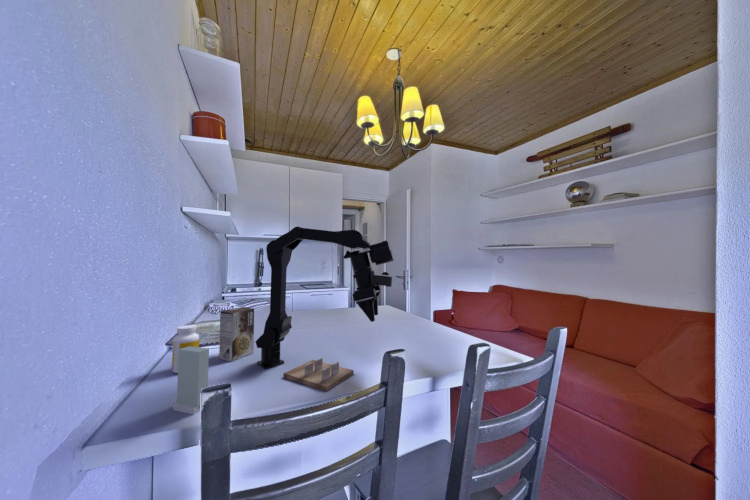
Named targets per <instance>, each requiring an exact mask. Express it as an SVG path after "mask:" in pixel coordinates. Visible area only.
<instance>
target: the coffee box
mask: <svg viewBox="0 0 750 500" xmlns="http://www.w3.org/2000/svg"><path fill="white" fill-rule="evenodd" d="M219 316H220V317H219V318H220V319H219V349H218V350H219V351H218V352H219V354H218V358H219V360H223V361H228V362H235V361H237V360H239V359H242V358H244V357H247V356H249V355H251V354H254V352H255V350H254V348H255V346H254V342H255V340H254V339H255V336H254V334H255V333H254V332H255V308H253V307H252V308H251V307H247V306H240V307H236V308H235V307H234V308H231V309H226V310H225V309H224V310H221V311H220V315H219Z"/></svg>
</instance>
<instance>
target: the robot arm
mask: <svg viewBox="0 0 750 500" xmlns="http://www.w3.org/2000/svg"><path fill="white" fill-rule="evenodd" d="M365 239H366V238H365V236H364V235H363V233H362V232H360V231H358V230H356V229H345V230H337V231H336V230H335V231H333V230H324V229H315V228H307V227H301V226H294V227H293V228H292V229H290V230H289V231H288V232H286V233H284V234H282V235H280V236H279V237H277V238H276V239H273V240H271V241H269V243H268V244H266V248H265V249H266V250H265V251H266V258H267V262H268V263H269V266H270V269H271V270H270V298H269V301H270V303H269V314H268V316H267V319H266V321H265V322H264V329H263V333H262V334H261V335H260V336H259V337H258V338H257V339H256V340H255V345H256V348H258V349H260V355H261V357H260V360H258V361H256V364H257V365H258V366H260V367H262V368H264V369H269V368H272V367H275V366H279V365H283V364H285V361H284V360H283V359H281V342H283V341H284V340H285V338H286V337H287V336H288V334H290V331H291V329H292V328H293V327H292V319H293V317H292V315H290V316H289V315H288V314H287V312H286V302H287V298H286V297H287V296H286V295H287V269H288V266H289V263H290V261H291V259H292V252H293V251H294V250H295V249H297V247H298V246H299V245H300V244H301V242H303V241H305V240H307V241H313V242H314V241H315V242H321V243H329V244H330V243H331V244H337V245H339V246H343V247H345V248H346V247H347V248H349V249H353V251H350V250H346V251H345V254H344V255H343V257H342V258H343V259H344V260H346V259H347V260H348V259H349V260H350V263H351V267H352V270H353V274H352V276H353V279H355V283H356V286H357V287H356V290H355V291H354V292H353V294H352V298H353V302H355V304H356V305H357V306H358V307H359V309H361V310H362V311H363V313H364V314H365V316H366V317H367V318H368V319H369V321H370V322H375V321H376V319H375V317H376V316H378V314H379V309H378V308H379V303H378V301H379V300H378V297H379V295H380V294H381V292H382V291H381V290H382V288H381V286H385V287H388V288H389V287H390V288H391V287H392V284H393V275H390V274H389V272H388V271H383V272H382V273H381V274H377V273H375V270H373V268H372V265H371V263H372V264H374V263H375V266H380V265H383V264H388V263H390V262H391V263H392V262H394V256H393V251H392V249H391V248H390V247H391V246H390V245H389V241H388V240H387V239H386V240H383V241H381V242H378V243H374V244H371V243H370V242H368V241H367V240H365ZM360 249H363V250H366V251H362V252H361V250H360Z"/></svg>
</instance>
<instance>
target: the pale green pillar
mask: <svg viewBox="0 0 750 500" xmlns="http://www.w3.org/2000/svg"><path fill="white" fill-rule="evenodd" d="M209 358H210V348H205V347H200V346H199V347H191V346H188V347H185V348H182V349H179V359H178V373H177V388H176V389H177V390H176V402H175V403H174V404H172V411H176V412H180V413H184V414H190V415H196V414H198V413H199V412H201V411H200V393H201V389H202V388H205V387H209V362H210V361H209V360H210V359H209Z"/></svg>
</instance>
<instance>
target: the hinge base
mask: <svg viewBox="0 0 750 500" xmlns="http://www.w3.org/2000/svg"><path fill="white" fill-rule="evenodd" d="M354 374H355V373H354V369H350V368H347V367H343V366H340V362H339V361H336V362H334V363H327V362H324V361H323V357H320V358H317V359H311V360H309V361H307V362H305V363H303V364H300V365H298V366H296V367H294V368H292V369H289V370H287V371H285V372H283V377H282V378H285V379H287V380H290V381H293V382H297V383H300V384H302V385H305V386H308V387H312V388H314V389H318V390H321V391H323V392H328V391H330V390H331V389H333V388H335V387H336V386H338V385H340V384H341V383H342V382H344V381H346V380H347V379H349V378H350V377H352V376H353V375H354Z"/></svg>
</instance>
